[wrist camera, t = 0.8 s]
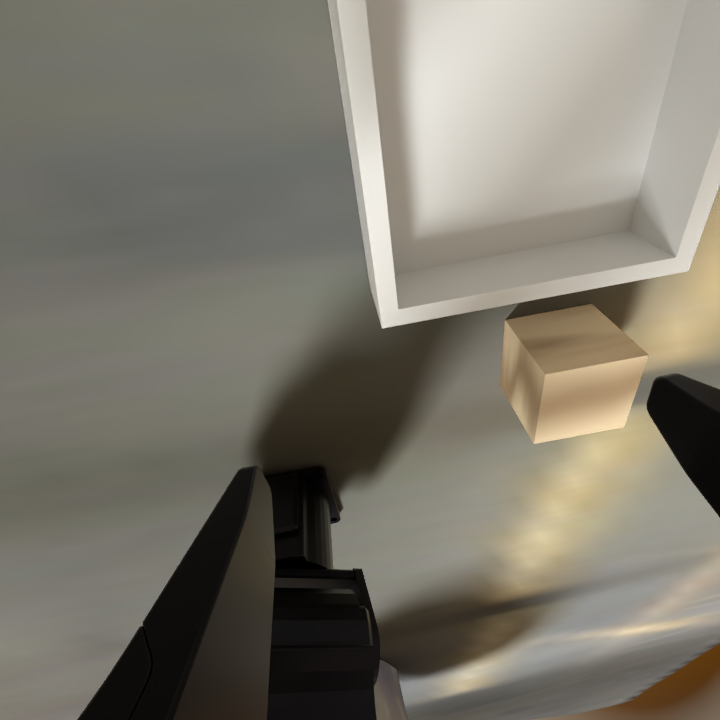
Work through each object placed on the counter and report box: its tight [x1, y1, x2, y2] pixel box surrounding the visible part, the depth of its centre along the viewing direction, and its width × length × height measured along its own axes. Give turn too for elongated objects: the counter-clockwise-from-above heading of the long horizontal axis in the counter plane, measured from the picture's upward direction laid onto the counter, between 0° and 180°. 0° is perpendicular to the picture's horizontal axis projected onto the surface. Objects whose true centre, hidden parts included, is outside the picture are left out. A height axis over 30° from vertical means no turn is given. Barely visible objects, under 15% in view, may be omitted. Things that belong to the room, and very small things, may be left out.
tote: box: [327, 0, 720, 328], centre depth 15 cm, size 16×14×4 cm
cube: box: [500, 304, 649, 444], centre depth 23 cm, size 5×5×5 cm
